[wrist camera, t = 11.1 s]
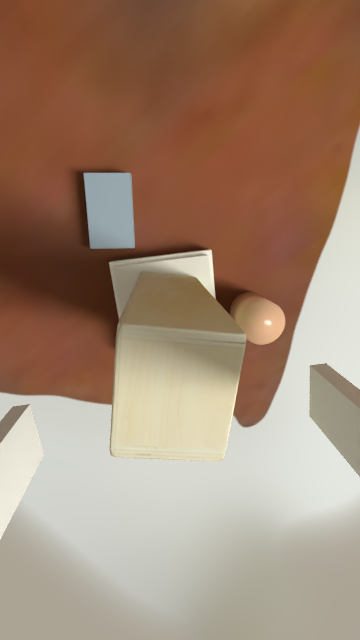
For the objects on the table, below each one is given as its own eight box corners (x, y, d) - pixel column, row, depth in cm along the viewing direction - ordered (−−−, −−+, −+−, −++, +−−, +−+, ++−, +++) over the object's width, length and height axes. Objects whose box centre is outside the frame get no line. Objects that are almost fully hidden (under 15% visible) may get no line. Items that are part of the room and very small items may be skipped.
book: (87, 176, 35) (83, 172, 33) (131, 176, 35) (130, 172, 33) (93, 248, 37) (90, 248, 35) (135, 247, 37) (134, 248, 35)
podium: (111, 261, 37) (107, 263, 34) (208, 249, 37) (212, 250, 34) (127, 352, 40) (125, 360, 37) (216, 340, 40) (220, 347, 38)
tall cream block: (194, 341, 37) (236, 465, 17) (135, 336, 37) (104, 458, 16) (203, 277, 35) (262, 332, 15) (140, 270, 35) (113, 318, 14)
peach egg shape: (228, 294, 39) (239, 304, 33) (266, 289, 39) (284, 298, 33) (230, 331, 40) (242, 347, 35) (267, 326, 40) (285, 341, 35)
